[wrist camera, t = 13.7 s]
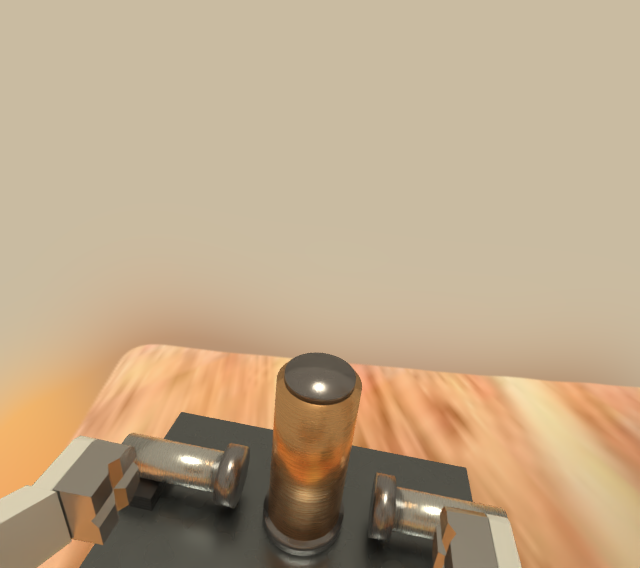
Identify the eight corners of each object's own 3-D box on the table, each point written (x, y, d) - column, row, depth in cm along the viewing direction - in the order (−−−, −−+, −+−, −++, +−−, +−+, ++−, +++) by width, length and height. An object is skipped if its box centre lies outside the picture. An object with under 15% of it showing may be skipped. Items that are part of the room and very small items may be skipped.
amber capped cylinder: (308, 469, 32) (324, 336, 27) (358, 523, 29) (388, 382, 24) (247, 508, 29) (252, 365, 24) (296, 574, 25) (315, 422, 20)
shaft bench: (470, 473, 34) (487, 427, 32) (515, 697, 22) (547, 646, 20) (176, 415, 37) (173, 369, 35) (62, 585, 24) (47, 530, 22)
